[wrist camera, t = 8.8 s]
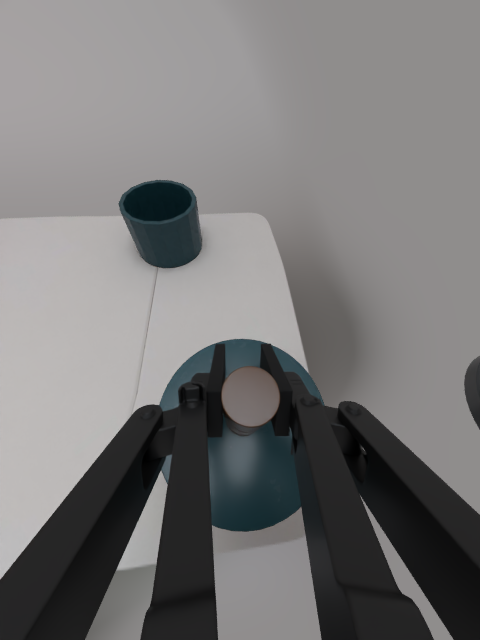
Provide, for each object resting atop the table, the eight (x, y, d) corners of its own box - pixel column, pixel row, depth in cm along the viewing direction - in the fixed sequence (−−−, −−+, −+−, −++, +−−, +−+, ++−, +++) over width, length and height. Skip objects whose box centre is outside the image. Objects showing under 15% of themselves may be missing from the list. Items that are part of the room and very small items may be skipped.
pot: (203, 226, 48) (198, 181, 40) (199, 268, 42) (192, 225, 34) (146, 225, 48) (129, 179, 40) (133, 267, 42) (109, 222, 33)
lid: (308, 343, 22) (351, 284, 14) (342, 523, 15) (464, 604, 7) (171, 343, 21) (136, 282, 13) (143, 530, 15) (40, 625, 7)
